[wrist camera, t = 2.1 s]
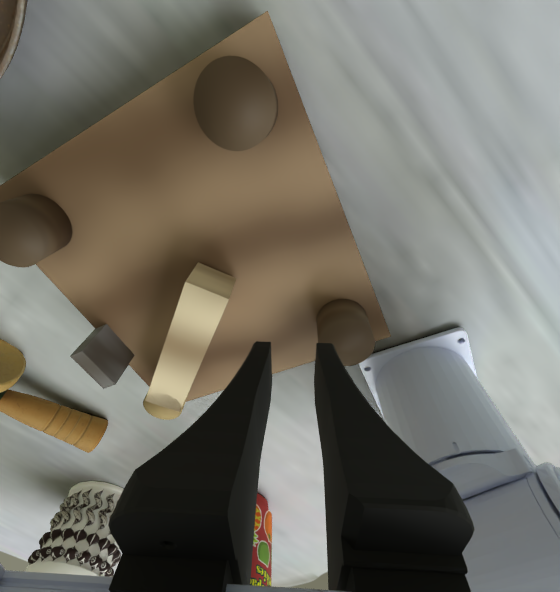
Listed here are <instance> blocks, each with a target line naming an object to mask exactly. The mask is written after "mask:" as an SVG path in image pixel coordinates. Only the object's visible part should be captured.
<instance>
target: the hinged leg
mask: <svg viewBox="0 0 560 592" xmlns="http://www.w3.org/2000/svg"><path fill="white" fill-rule="evenodd" d="M236 279H237V278H234V277H232V276H230V275H227V274H225V273H222V272H220V271H218V270H215V269H213V268H210V267H208V266H206V265H203V264H201V263H197V265H196V266H195V268H194V269H193V271H192V272H191V274H190V275H189V277H188V278H187V280H186V281H185V284H184V287H183V290H182V293H181V296H180V299H179V302H178V305H177V308H176V311H175V314H174V317H173V320H172V323H171V326H170V329H169V332H168V335H167V337H166V340H165V343H164V346H163V349H162V352H161V355H160V358H159V361H158V364H157V367H156V370H155V373H154V376H153V379H152V382H151V385H150V388H149V391H148V393H147V395H146V397H145V399H144V401H143V405H144V408H145V410H146V411H147V412H148V413H149V414H151V415H152V416H154V417H157V418H160V419H165V420H169V419H174V418H177V417H178V416H179V415H180V414H181V412H182V409H183V407H184V404H185V402H186V399H187V396H188V394H189V391H190V389H191V386H192V383H193V381H194V379H195V376H196V374H197V372H198V369H199V367H200V365H201V362H202V360H203V358H204V356H205V353H206V351H207V349H208V346H209V344H210V342H211V339H212V337H213V335H214V333H215V330H216V328H217V326H218V323H219V321H220V319H221V317H222V314H223V312H224V310H225V307H226V305H227V303H228V300H229V298H230V295H231V293H232V290H233V287H234V284H235V282H236Z"/></svg>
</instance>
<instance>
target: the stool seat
mask: <svg viewBox="0 0 560 592" xmlns="http://www.w3.org/2000/svg"><path fill="white" fill-rule="evenodd" d="M0 261H2V262H4V263H6V264H9V265H12V266H16V267H29V266H32V265H34V264H36V265H37V266H38V267H39V268H40V269H41V270H42V271H43V273H44V274H45V275H46V276H47V277H48V278H49V279H50V280H51V281H52V282H53V283H54V284H55V285H56V287H57V288H58V289H59V290H60V291H61V292H62V293H63V294H64V295H65V296H66V297H67V298H68V299H69V301H70V302H71V303H72V304H73V305H74V306H75V307H76V308H77V309H78V310H79V311H80V312H81V314H82V315H83V316H84V317H85V318H86V319H87V320H88V321H89V322H90V323H91V324H92V325H93V326H94V328H95V330H94V331H93V332H92V333H91V334H90V335H89V336H88V337H87V338H86V340H85V341H84V342H83V343H82V344H81V345H80V346H79V347H78V348H77V349H76V350H75V351H74V352H73V354H72V355H71V356H70V357H72V358H73V359H74V360H75V361H76V362H77V363H78V364H79V365H80V366H81V367H82V368H83V369H84V370H85V371H86V372H87V373H88V374H89V375H90V376H91V377H92V378H93V379H94V380H95V381H96V382H97V383H98V384H99V385H100V386H101V387H102V388H103V389H104V388H107V387H110V386H112V385H115V384H116V383H117V381H118V380H119V378H120V377H121V375H122V374H123V372H124V371H125V369H126V368H127V366H128V365H130V366H131V367H132V369H133V370H134V371H135V372H136V373H137V374H138V375H139V376H140V377H141V378H142V379H143V380H144V381H145V383H146V384H147V385H148V386H149V387H150V385H151V382H152V379H153V376H154V373H155V370H156V367H157V364H158V361H159V358H160V355H161V352H162V349H163V346H164V343H165V340H166V337H167V335H168V332H169V329H170V326H171V323H172V320H173V317H174V314H175V311H176V308H177V305H178V302H179V299H180V296H181V293H182V290H183V287H184V284H185V281H186V280H187V278H188V277H189V275H190V274H191V272H192V271H193V269H194V268H195V266H196V265H197V263H201V264H203V265H206V266H208V267H210V268H213V269H215V270H218V271H220V272H222V273H225V274H227V275H230V276H232V277H234V278H237V279H236V282H235V284H234V287H233V290H232V293H231V295H230V298H229V300H228V303H227V305H226V307H225V310H224V312H223V314H222V317H221V319H220V321H219V323H218V326H217V328H216V330H215V333H214V335H213V337H212V339H211V342H210V344H209V346H208V349H207V351H206V353H205V356H204V358H203V360H202V362H201V365H200V367H199V369H198V372H197V374H196V376H195V379H194V381H193V383H192V386H191V389H190V391H189V394H188V396H187V399H186V402H187V401H190V400H193V399H196V398H199V397H202V396H206V395H209V394H212V393H215V392H218V391H221V390H224V389H225V388H226V387H227V386H228V384H229V383H230V382H231V380H232V379H233V378H234V376H235V375H236V373H237V372H238V370H239V369H240V367H241V366H242V364H243V362H244V361H245V359H246V357H247V356H248V354H249V352H250V350H251V348H252V346H253V344H254V343H255V342H256V341H259V342H271V359H272V374H275V373H278V372H281V371H284V370H287V369H290V368H293V367H297V366H300V365H303V364H306V363H309V362H312V361H315V359H316V343H332V344H333V345H334V347H335V349H336V352H337V354H338V356H339V358H340V360H341V361H342V363H343V365H344V366H352V365H356V364H359V363H361V362H363V361H364V360H366V359H367V358H368V357H369V356H370V355H371V354H372V352H373V350H374V348H375V341H378V340H381V339H384V338H388V337H391V335H390V332H389V330H388V327H387V325H386V322H385V319H384V317H383V314H382V311H381V309H380V306H379V303H378V301H377V298H376V296H375V293H374V290H373V288H372V285H371V282H370V280H369V277H368V274H367V272H366V269H365V267H364V264H363V261H362V259H361V256H360V253H359V251H358V248H357V245H356V243H355V240H354V237H353V235H352V232H351V230H350V227H349V224H348V222H347V219H346V216H345V214H344V211H343V208H342V206H341V203H340V201H339V198H338V195H337V193H336V190H335V187H334V185H333V182H332V179H331V177H330V174H329V172H328V169H327V166H326V164H325V161H324V158H323V156H322V153H321V150H320V148H319V145H318V143H317V140H316V137H315V135H314V132H313V129H312V127H311V124H310V121H309V119H308V116H307V113H306V111H305V108H304V106H303V103H302V100H301V98H300V95H299V92H298V90H297V87H296V84H295V82H294V79H293V77H292V74H291V71H290V69H289V66H288V63H287V61H286V58H285V55H284V53H283V50H282V48H281V45H280V42H279V40H278V37H277V34H276V32H275V29H274V26H273V24H272V21H271V19H270V16H269V13H268V11H267V12H265V13H264V14H262V15H261V16H259V17H257V18H256V19H254V20H253V21H251V22H250V23H248V24H247V25H245V26H244V27H242V28H241V29H239V30H238V31H236V32H235V33H233V34H231V35H230V36H228V37H227V38H225V39H224V40H222V41H221V42H219V43H218V44H216V45H215V46H213V47H212V48H210V49H209V50H207V51H205V52H204V53H202V54H201V55H199V56H198V57H196V58H195V59H193V60H192V61H190V62H189V63H187V64H186V65H184V66H183V67H181V68H179V69H178V70H176V71H175V72H173V73H172V74H170V75H169V76H167V77H166V78H164V79H163V80H161V81H160V82H158V83H157V84H155V85H153V86H152V87H150V88H149V89H147V90H146V91H144V92H143V93H141V94H140V95H138V96H137V97H135V98H134V99H132V100H131V101H129V102H127V103H126V104H124V105H123V106H121V107H120V108H118V109H117V110H115V111H114V112H112V113H111V114H109V115H108V116H106V117H105V118H103V119H101V120H100V121H98V122H97V123H95V124H94V125H92V126H91V127H89V128H88V129H86V130H85V131H83V132H82V133H80V134H79V135H77V136H75V137H74V138H72V139H71V140H69V141H68V142H66V143H65V144H63V145H62V146H60V147H59V148H57V149H56V150H54V151H53V152H51V153H49V154H48V155H46V156H45V157H43V158H42V159H40V160H39V161H37V162H36V163H34V164H33V165H31V166H30V167H28V168H27V169H25V170H23V171H22V172H20V173H19V174H17V175H16V176H14V177H13V178H11V179H10V180H8V181H7V182H5V183H4V184H2V185H1V186H0Z"/></svg>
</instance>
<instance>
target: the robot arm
mask: <svg viewBox="0 0 560 592" xmlns="http://www.w3.org/2000/svg"><path fill="white" fill-rule="evenodd" d="M460 338H462V339H461V340H458V339H460ZM366 366H369V367H368V368H365V367H366ZM359 367H360V369H361V371H362V373H363V375H364V378H365V380H366V382H367V384H368V386H369V388H370V390H371V393H372V395H373V397H374V399H375V401H376V403H377V406H378V408H379V410H380V412H381V414H382V416H383V418H384V421H385V422H384V421H383V420H382V419H381V417H380V416H379V415H378V414H377V413H376V412H375V410H374V409H373V408H372V407H371V405H370V404H369V403H368V401H367V400H366V399H365V397H364V396H363V395H362V393H361V392H360V391H359V389H358V388H357V386H356V385H355V383H354V382H353V380H352V378H351V377H350V375H349V374H348V372H347V370H346V369H345V367H344V365H343V363H342V361H341V360H340V358H339V356H338V354H337V352H336V349H335V347H334V345H333V344H332V343H316V359H315V375H314V388H315V406H316V414H317V421H318V428H319V435H320V442H321V449H322V457H323V467H324V487H325V508H326V532H327V557H328V587H329V590H316V589H301V588H285V587H268V586H252V585H250V582H251V567H252V553H253V540H254V527H255V514H256V502H257V490H258V478H259V467H260V458H261V451H262V446H263V440H264V435H265V429H266V424H267V418H268V413H269V407H270V401H271V388H272V359H271V342H259V341H256V342H255V343H254V344H253V346H252V348H251V350H250V352H249V354H248V356H247V357H246V359H245V361H244V362H243V364H242V366H241V367H240V369H239V370H238V372H237V373H236V375H235V376H234V378H233V379H232V380H231V382H230V383H229V384H228V386H227V387H226V388H225V390H224V391H223V392H222V393H221V395H220V396H219V397H218V398H217V399H216V401H215V402H214V403H213V404H212V405H211V406H210V407H209V408H208V410H207V411H206V412H205V413H204V414H203V415H202V416H201V417H200V418H199V419H198V420H197V421H196V422H195V423H194V424H193V425H192V426H190V427H189V428H188V429H187V430H186V431H185V432H184V433H183V434H181V435H180V436H179V437H178V438H177V439H175V440H174V441H173V442H172V443H171V444H170V445H168V446H167V447H166V448H165V449H163V450H162V451H161V452H159V453H158V454H157V455H155V456H154V457H152V458H151V459H150V460H148V461H147V462H146V463H144V464H143V465H141V466H140V467H139V468H137V469H136V470H135V471H134V473H133V474H132V476H131V478H130V479H129V481H128V483H127V484H126V486H125V488H124V490H123V491H122V493H121V496H120V498H119V500H118V502H117V504H116V507H115V509H114V511H113V513H112V515H111V517H110V520H109V524H108V526H109V529H110V532H111V534H112V536H113V538H114V539H115V541H116V543H117V545H118V546H119V548H120V550H121V551H122V553H123V554H122V556H121V559H120V561H119V564H118V566H117V569H116V571H115V574H114V577H105V576H89V575H73V574H57V573H40V572H23V571H7V570H5V569H4V567H3V565H2V564H1V563H0V592H560V468H559V467H555V466H554V465H552V464H551V463H548V462H547V463H543V464H540V465H538V466H536V465H535V464H534V463H533V461H532V460H531V458H530V457H529V455H528V454H527V452H526V451H525V449H524V448H523V446H522V445H521V443H520V442H519V440H518V439H517V437H516V436H515V434H514V433H513V431H512V430H511V428H510V427H509V425H508V424H507V422H506V421H505V419H504V418H503V416H502V415H501V413H500V412H499V410H498V409H497V407H496V405H495V404H494V402H493V401H492V399H491V398H490V396H489V395H488V393H487V392H486V390H485V389H484V387H483V386H482V384H481V383H480V381H479V380H478V378H477V374H476V370H475V366H474V361H473V357H472V353H471V348H470V344H469V340H468V336H467V332H466V331H465V330H464V329H463V328H460V327H459V328H454V329H451V330H448V331H445V332H441V333H438V334H435V335H432V336H429V337H425V338H422V339H419V340H416V341H412V342H409V343H406V344H403V345H399V346H396V347H393V348H390V349H386V350H383V351H380V352H377V353H374V354H371V355H370V356H369V357H368V358H367V359H366V360H364V361H363V362H361V363H359Z"/></svg>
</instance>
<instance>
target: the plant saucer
mask: <svg viewBox="0 0 560 592" xmlns="http://www.w3.org/2000/svg"><path fill="white" fill-rule="evenodd" d="M26 7H27V0H0V78H1V77H2V76H3V74H4V72H5V71H6V69H7V68H8V66H9V64H10V62H11V60H12V58H13V56H14V53H15V51H16V48H17V46H18V42H19V39H20V36H21V32H22V28H23V24H24V19H25V13H26Z"/></svg>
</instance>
